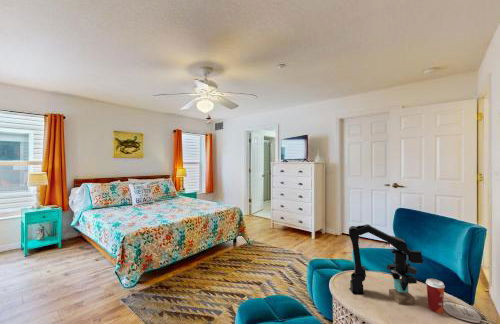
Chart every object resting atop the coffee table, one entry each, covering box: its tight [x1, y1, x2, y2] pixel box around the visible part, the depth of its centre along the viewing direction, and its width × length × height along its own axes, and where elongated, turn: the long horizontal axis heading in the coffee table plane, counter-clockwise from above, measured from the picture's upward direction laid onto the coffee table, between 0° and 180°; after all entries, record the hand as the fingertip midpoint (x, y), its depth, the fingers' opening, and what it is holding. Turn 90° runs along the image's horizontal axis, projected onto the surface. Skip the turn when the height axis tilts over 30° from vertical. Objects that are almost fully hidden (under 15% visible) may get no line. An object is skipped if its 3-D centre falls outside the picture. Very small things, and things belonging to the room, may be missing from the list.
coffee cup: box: [425, 278, 446, 314], centre depth 127 cm, size 8×8×15 cm
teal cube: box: [393, 279, 409, 293], centre depth 137 cm, size 5×5×5 cm
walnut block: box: [388, 288, 415, 305], centre depth 136 cm, size 9×9×4 cm
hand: (401, 288), depth 137 cm, fingers closed on teal cube, 5 cm apart
